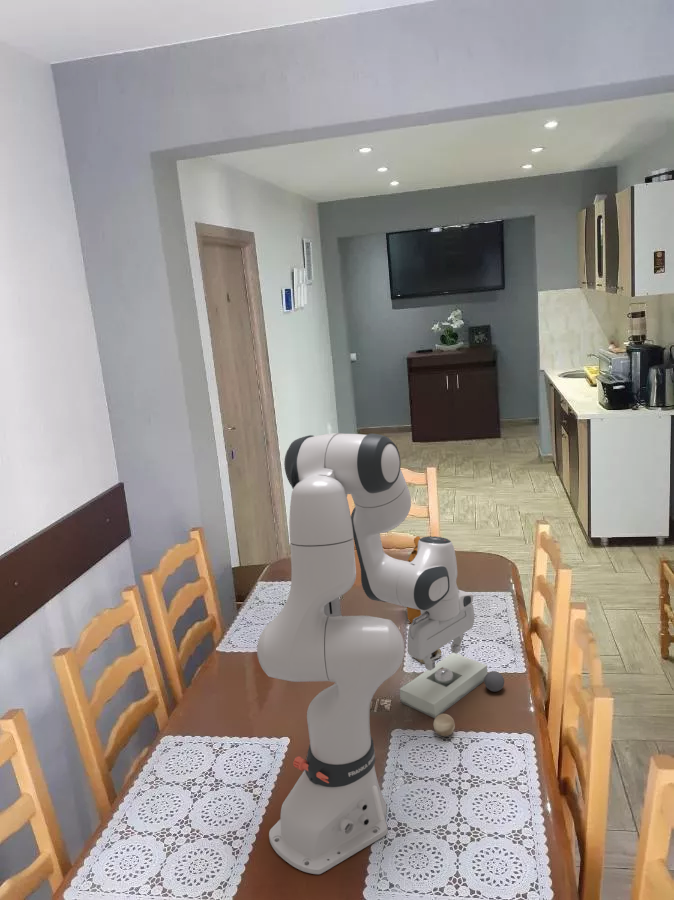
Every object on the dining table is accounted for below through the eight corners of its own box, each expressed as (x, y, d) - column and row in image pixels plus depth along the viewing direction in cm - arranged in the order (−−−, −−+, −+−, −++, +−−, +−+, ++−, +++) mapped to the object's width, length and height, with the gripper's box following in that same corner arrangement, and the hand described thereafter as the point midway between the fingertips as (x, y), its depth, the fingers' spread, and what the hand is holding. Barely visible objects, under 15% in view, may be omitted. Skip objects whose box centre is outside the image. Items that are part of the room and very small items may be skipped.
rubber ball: (497, 697, 164) (496, 680, 163) (480, 690, 167) (479, 673, 166) (508, 688, 167) (507, 671, 166) (492, 682, 170) (491, 665, 169)
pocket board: (435, 718, 159) (434, 704, 158) (400, 702, 166) (399, 688, 165) (487, 678, 172) (486, 665, 171) (453, 665, 179) (453, 652, 178)
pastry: (401, 651, 188) (400, 638, 187) (422, 643, 191) (421, 630, 190) (423, 666, 180) (422, 652, 179) (444, 657, 183) (444, 643, 182)
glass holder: (344, 612, 213) (339, 565, 209) (340, 636, 199) (334, 585, 195) (315, 613, 214) (309, 566, 210) (308, 637, 200) (302, 587, 196)
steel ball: (446, 693, 165) (445, 676, 164) (431, 687, 169) (430, 669, 168) (458, 685, 168) (457, 668, 167) (442, 679, 172) (442, 662, 171)
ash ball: (446, 743, 150) (445, 724, 149) (429, 735, 153) (428, 716, 152) (459, 733, 153) (458, 714, 152) (442, 725, 156) (441, 706, 155)
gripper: (420, 625, 154) (424, 683, 157) (477, 592, 167) (480, 646, 170) (398, 617, 159) (403, 674, 162) (455, 586, 172) (459, 639, 175)
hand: (443, 660), depth 166 cm, fingers open, 8 cm apart
